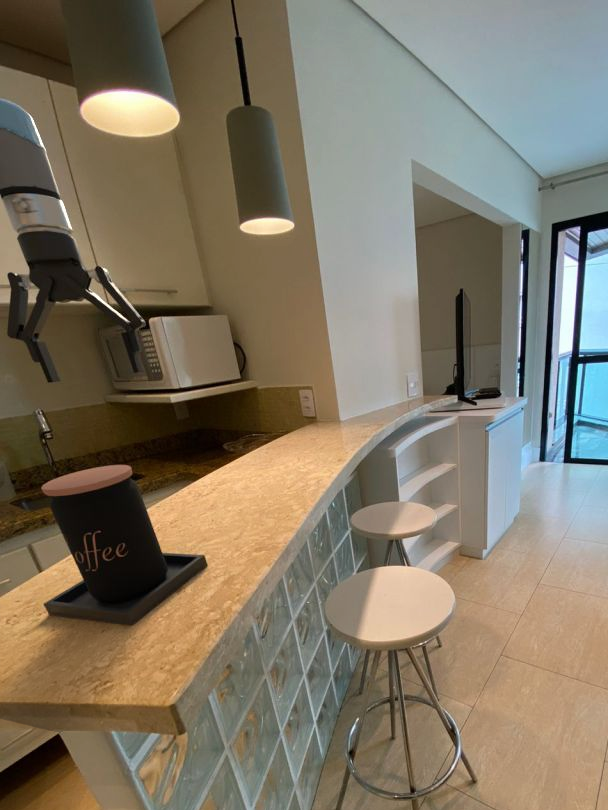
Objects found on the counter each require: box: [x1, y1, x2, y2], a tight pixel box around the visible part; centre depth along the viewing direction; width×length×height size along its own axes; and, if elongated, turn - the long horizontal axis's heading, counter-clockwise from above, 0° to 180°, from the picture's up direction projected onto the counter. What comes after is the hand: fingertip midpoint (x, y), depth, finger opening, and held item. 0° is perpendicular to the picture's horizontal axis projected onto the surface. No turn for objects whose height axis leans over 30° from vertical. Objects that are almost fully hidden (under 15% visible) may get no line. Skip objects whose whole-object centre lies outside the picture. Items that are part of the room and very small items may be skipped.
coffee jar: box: [40, 464, 168, 604], centre depth 60 cm, size 11×11×18 cm
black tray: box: [43, 552, 208, 626], centre depth 63 cm, size 16×16×2 cm
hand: (97, 377), depth 72 cm, fingers open, 13 cm apart
